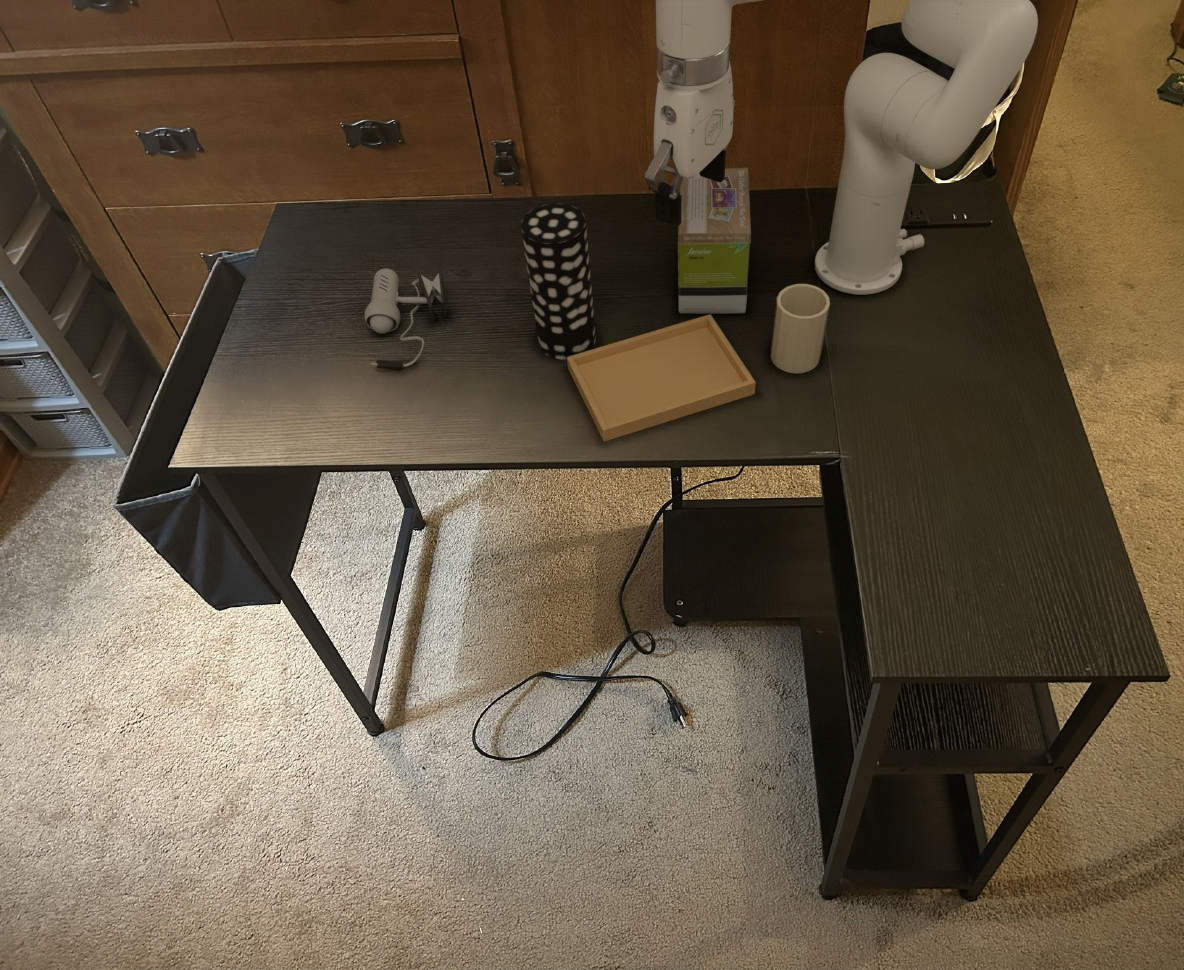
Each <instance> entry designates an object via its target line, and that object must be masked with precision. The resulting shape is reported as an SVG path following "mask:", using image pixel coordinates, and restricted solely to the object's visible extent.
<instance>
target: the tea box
mask: <svg viewBox="0 0 1184 970" xmlns="http://www.w3.org/2000/svg"><path fill="white" fill-rule="evenodd" d="M749 176H750V175H749V167H734V168H733V167H732V168H731V167H730V168H729V167H728V168H725V179H724V180H723V181H722V182H717V181H714V180H711V179H708V178H705V177H702V176H700V172H699V173H698V174H697V175H696V176H694V177H692V178H690V179H687V178H685V177H684V178H683V181H682V184H681V187H680V190H679V194H680V195H682V212H681V224H680V225H679V226H677V227H678V228H677V273H678V274H677V293H678V294H677V296H678V297H677V298H678V313H680V314H693V315H694V314H697V315H698V314H700V315H701V314H703V315H704V314H721V315H722V314H745V313H746V311H747V301H748V286H749V274H750V257H751V256H750V255H751V244H752V238H751V237H752V225H751V199H750V180H749V179H750V178H749Z"/></svg>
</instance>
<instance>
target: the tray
mask: <svg viewBox="0 0 1184 970" xmlns="http://www.w3.org/2000/svg"><path fill="white" fill-rule="evenodd" d="M566 363H567V370H568V372H569V374H570V376H571V378H572V380H573V382H574V384H575V386H576V387H577V391H578V392H579V394H580V396H581V398H582V400H583V402H584V405H585V406H586V408H587V410H588V412H589V415H590V416H591V418H592V420H593V423H594V425H595V427H596V429H597V431H598V433H599V435H600V437H601V439H602V441H603V442H608V441H611V440H614V439H618V438H619V437H620V438H621V437H624V436H626V435H630V434H633V433H636V432H640V431H643V430H645V429H649V428H652V427H655V426H659V425H661V424H665V423H668V422H671V421H674V420H677V419H681V418H683V417H687V416H690V415H693V414H696V413H700V412H702V411H703V412H704V411H706V410H709V409H712V408H715V407H718V406H722V405H725V404H728V403H731V402H734V401H738V400H740V399H744V398H747V397H750V396H753V395H755V393H756V384H757V382H756V380H755V379H754V378H753V376H752V375H751V373H750V371H749V370H748V368H747V367H746V366H745V364H744V362H743V361H742V359H741V358H740V356H739V355H738V353H737V352H736V350H735V349H734V347H733V345H732V344H731V342H730V341H729V340H728V338H727V337H726V335H725V334H724V332H723V331H722V329H721V328H720V326H719V325H718V323H717V322H716V321H715V319H714V317H713V316H712V313H708V314H706V315H702V316H700V317H697V318H696V317H695V318H692V319H689V320H686V321H683V322H680V323H677V324H673V325H669V326H666V327H663V328H659V329H656V330H653V331H650V332H646V333H643V334H639V335H636V336H633V337H629V338H626V339H623V340H619V341H616V342H613V343H609V344H606V345H603V346H602V345H601V346H599V347H596V348H591V350H589V351H586V352H582V353H579V354H576V355H572V356H569V357H567V359H566Z"/></svg>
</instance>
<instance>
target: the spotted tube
mask: <svg viewBox="0 0 1184 970" xmlns="http://www.w3.org/2000/svg"><path fill="white" fill-rule="evenodd" d="M587 228H588V227H587V219H586V216H585V214H584V212H583V211H582V210H581V209H579V208H578V207H576V206H574V205H572V204H567V203H559V202H553V203H546V204H543V205H539V206H537V207H534V208H532V209H531V210H530V211H529V212H527V213H526V214H525V215H524V217H523V218H522V219H521V222H520V231H521V237H522V243H523V250H524V251H523V252H524V257H525V264H526V270H527V278H528V283H529V291H530V296H531V304H532V310H533V316H534V323H535V329H536V336H537V341H538V342H537V343H538V346H539V349H540V350H541V351H542V352H543V354H545V355H546V356H548V357H550V358H552V359H558V360H567V357H569V356H572V355H576V354H579V353H582V352H586V351H589V350H592V349H593V348H594V346H595V343H596V340H597V335H596V334H597V332H596V321H595V310H594V299H593V298H594V297H593V288H592V273H591V264H590V263H591V262H590V251H589V240H588V239H589V237H588V229H587Z"/></svg>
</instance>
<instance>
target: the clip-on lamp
mask: <svg viewBox="0 0 1184 970" xmlns="http://www.w3.org/2000/svg"><path fill="white" fill-rule="evenodd" d="M437 269H438V270H437V271H438V273H437V274H436V276H435V278H434V279H433V280H430V279H428V278H426V277H425V276H423V275H422V274H421V272H417V279H415V280H414V281H412V282H411V286H412V287H414V288H415V289H416V293H417V296H400V294H399V286H400V285H399V284H400V278H399V276H398V274H397V272H395V271H394V270H393V269H390V268H382V269H381V268H380V269H379V270H378V271H376V273H375V274H374V278H373V285H372V291H371V299H370V303H368V304H367V306H366V308H365V310H364V322H365V324H366V326H367V327H368V328H369V329H370V330H373V331H374V332H375V333H376V334H380V335H381V334H382V335H383V334H387V333H390V332H394V331H395V330H397V328H398V327H399V325H400V322H401V312H400V309H399V307H398V304H399V303H401V304H416V306H415V307H414V308H413V309H411V311H410V314H409V315H410V319H411V322H410V324H409V326H408V328H407V329H406V330H405V331H404V332H403V333H402V334H400V337H399V340H400V342H407V341H413V340H419V341H420V342H421V348H420V350H419V352H418V354H417V356H416V357H415V358H414V359H413V360H412V361H410V362H408V363H404V362H403V361H401V360H399V361H398V360H386V359H377V360H376V361H375V362H373V361H371V362H370V366H376V369H381V370H382V369H383V370H384V369H386V370H396V371H397V370H398V371H399V370H400V371H401V370H404V368H407V367H409V366H412V365H413V364H414V363H416V362H417V360H419V358H420V357H421V355H422V353H423V350H424V347H425V340H424V338H422V337H421V336H417V335H413V336H407V337H405V336H406V335H407V334H408V333H409V332H410V330H411V329H412V328H413V325H414V322H415V321H414V316H413V315H414V314H415V312H417V311H418V309H419V308H420V304H421V305H422V304H423V305H424V304H426V306H427V308H428V310H429V314H430V317H431V321H432V323H436V318H435V317H436V316H435V313H434V309H433V303H434V300H435V298H436V299H437V300H438V301H439V302H440V303H441V305H442V309H443V314H444V319H448V318H449V316H448V311H447V303H446V294H445V293H446V292H445V283H444V278H443V272H442V267H437ZM416 284H420V288H421V291H422V294H423V296H421V293H420V290H419V287H418V286H417V285H416Z"/></svg>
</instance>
